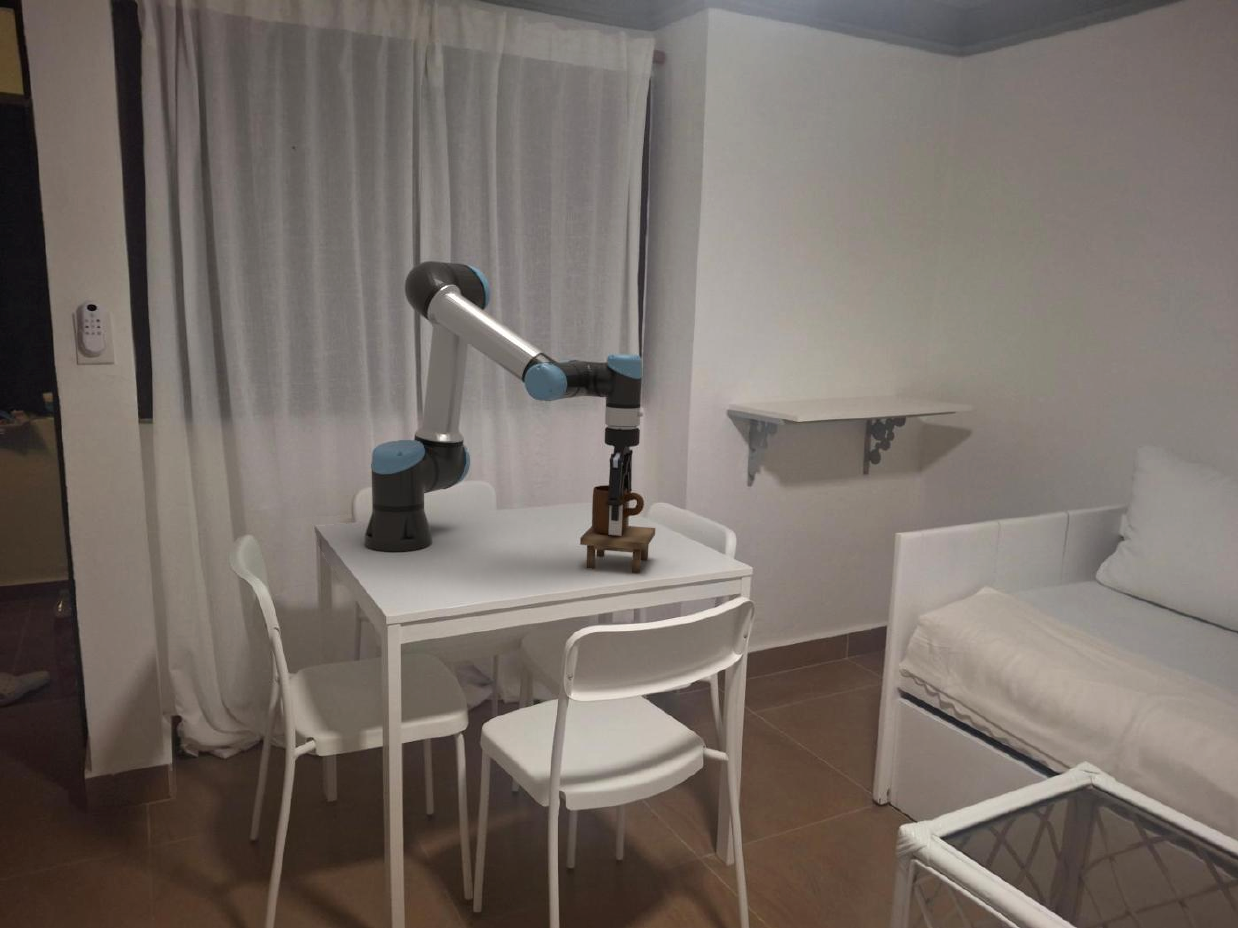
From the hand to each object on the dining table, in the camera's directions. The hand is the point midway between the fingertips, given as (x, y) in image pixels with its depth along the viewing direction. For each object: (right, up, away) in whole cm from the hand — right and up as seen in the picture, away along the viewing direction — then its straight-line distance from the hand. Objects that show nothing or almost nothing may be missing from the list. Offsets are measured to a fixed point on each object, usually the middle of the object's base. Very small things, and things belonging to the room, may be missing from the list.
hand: (618, 530), depth 197 cm
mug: (0, -1, -1) cm, 1 cm away
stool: (0, -8, +1) cm, 8 cm away
